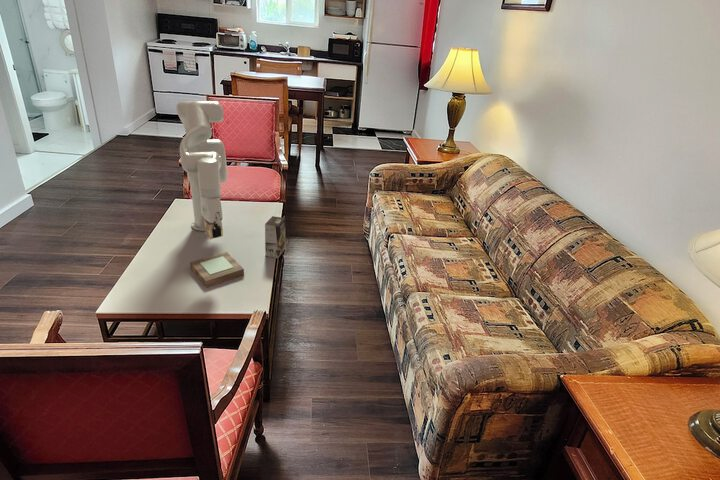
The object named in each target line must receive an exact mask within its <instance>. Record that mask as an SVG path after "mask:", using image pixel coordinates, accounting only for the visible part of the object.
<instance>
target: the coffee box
mask: <svg viewBox="0 0 720 480" xmlns="http://www.w3.org/2000/svg"><path fill="white" fill-rule="evenodd" d="M264 244H265V246H264V249H265V250H264V251H265V257H270V258H274V259H279V258H280V257H281V255H282V254H283V252H284V251H285V250H286V217H280V216H271V217H270V218H269V219H268V220H267V221H266V223H265V224H264Z"/></svg>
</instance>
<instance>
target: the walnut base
mask: <svg viewBox="0 0 720 480" xmlns="http://www.w3.org/2000/svg"><path fill="white" fill-rule="evenodd" d="M189 265H190V270H191V271H192V272H193V273H194V274H195V276H197V278H198V279H199V280H200V282H202V285H204V286H205V288H208V287H213V286H215V285H217V284H220V283H221V284H222V283H224V282H227V281H231V280H234V279H237V278H239V277H243V276H244V275H245V269H244V267H243V266H241V264H240V263H239V262H237V261H236V259H234V258H233V257H232V256H231V254H230V253H229V252H227V251H226V252H222V253H218V254H213V255H211V256H208V257H203V258H201V259H197V260H193V261H190V262H189Z"/></svg>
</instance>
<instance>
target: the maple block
mask: <svg viewBox="0 0 720 480" xmlns="http://www.w3.org/2000/svg"><path fill="white" fill-rule="evenodd" d="M215 220H216V219H215ZM204 224H205V231H204V232H205V235H206V236H207V237H208V238H209V239H210V240H214V239H215V238H213V233H212V229H213V225H212V223H210V222H208V221H207V220H204ZM216 224H217V222H216V223H215V225H216ZM223 232H224V230H223V224H222V225H221V236H220V237H217V238H216V239H218V238H221V237H223V236H224V233H223Z"/></svg>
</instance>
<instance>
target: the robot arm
mask: <svg viewBox="0 0 720 480" xmlns="http://www.w3.org/2000/svg"><path fill="white" fill-rule="evenodd" d="M176 112H177V115H178V117H179V118H178V119H180V122H181V123H182V125H183V128H184V130H185V135H184V137H183V138H182V140H181V141H180V145H179V155H180V157H179V158H180V164H181V167H182V169H183V170H184V171H185V173H186V175H187V179H188V182H189V186H190V192H191V193H190V194H191V200H192V209H193V217H194V218H193V219H194V220H193V221H192V222H191V228H192V229H193V230H196V231H199V232H205V224H204V220H207V221H208V222H210V223H212V225H213V229H212V233H213V238H214V239H218V238H221V237H220V236H221V225H222V226H223V222H222V221H223V208H222V203H221V196H222V190H221V184H223V183H226V181H227V180H228V170H227V169H228V167H227V158H226V157H227V156H226V149H225V145H224V142H223V141H222V140H221V139H217V138H211V137H212V135H213V132H212V131H213V130H212V127H211V123H222V122H223V121H224V118H225V117H224V116H225V113H224V109H223V105H222V103H220V102H219V101H217V100H184V101H179V102H178V103H177V104H176ZM215 219H216V220H215ZM216 222H217V224H216V225H215V223H216ZM217 237H218V238H217Z"/></svg>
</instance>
